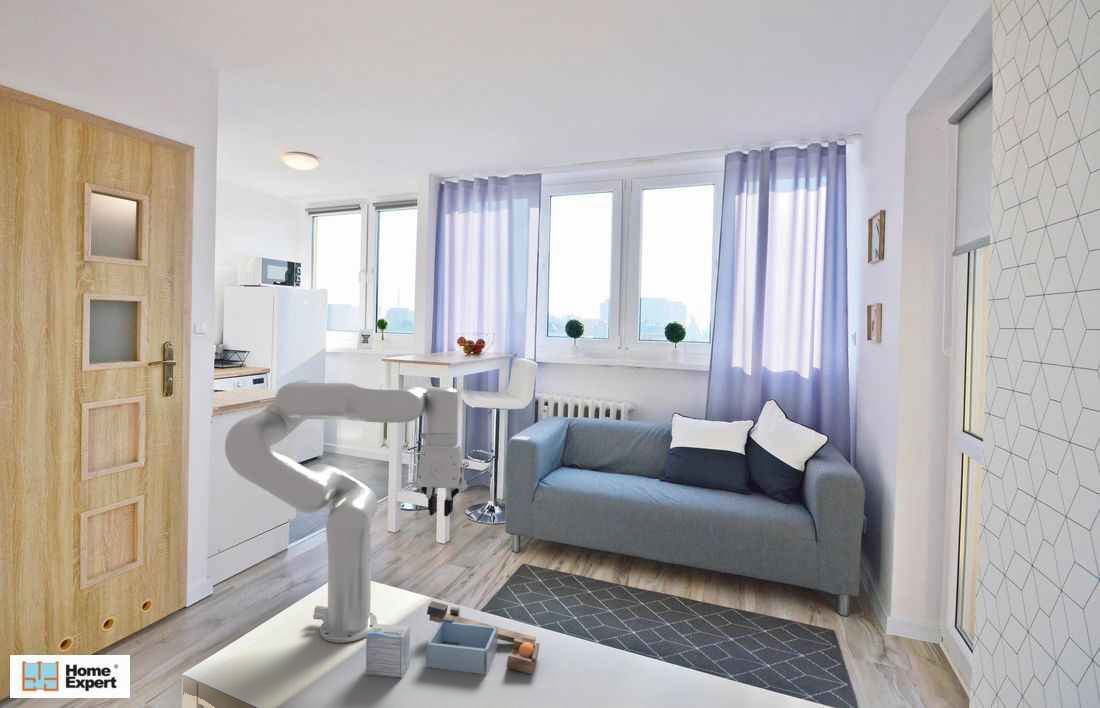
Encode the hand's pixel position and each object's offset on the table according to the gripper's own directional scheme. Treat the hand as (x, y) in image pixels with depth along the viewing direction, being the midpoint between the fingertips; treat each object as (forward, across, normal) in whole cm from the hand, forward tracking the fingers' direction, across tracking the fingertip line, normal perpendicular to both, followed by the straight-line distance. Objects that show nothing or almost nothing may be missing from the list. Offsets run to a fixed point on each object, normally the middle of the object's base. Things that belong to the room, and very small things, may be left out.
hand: (440, 513), depth 127 cm
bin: (+27, +10, -12) cm, 31 cm away
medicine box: (+28, -4, -19) cm, 34 cm away
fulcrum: (+27, +5, -5) cm, 28 cm away
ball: (+26, +24, -12) cm, 37 cm away
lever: (+25, +13, -10) cm, 30 cm away
